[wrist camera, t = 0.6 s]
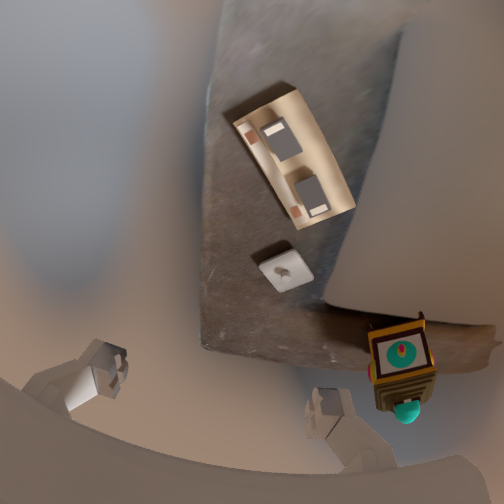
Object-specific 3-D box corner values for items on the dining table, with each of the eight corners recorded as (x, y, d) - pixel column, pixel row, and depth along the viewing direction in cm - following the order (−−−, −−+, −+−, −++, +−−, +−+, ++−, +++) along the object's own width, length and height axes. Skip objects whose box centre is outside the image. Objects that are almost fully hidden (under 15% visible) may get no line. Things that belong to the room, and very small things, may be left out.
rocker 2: (315, 173, 50) (315, 175, 49) (331, 207, 52) (331, 209, 50) (294, 183, 52) (293, 184, 50) (310, 216, 54) (310, 218, 52)
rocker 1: (282, 115, 44) (283, 119, 42) (302, 147, 48) (303, 152, 47) (260, 127, 45) (259, 131, 44) (280, 158, 50) (280, 162, 48)
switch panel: (297, 88, 45) (297, 89, 41) (354, 200, 55) (356, 209, 52) (236, 120, 50) (231, 124, 47) (298, 222, 61) (297, 232, 58)
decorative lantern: (426, 305, 69) (451, 399, 45) (423, 344, 78) (439, 425, 54) (361, 321, 76) (368, 418, 52) (367, 357, 85) (372, 439, 62)
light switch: (280, 286, 73) (278, 300, 68) (258, 259, 69) (255, 272, 65) (315, 271, 68) (315, 286, 64) (294, 242, 64) (293, 255, 60)
